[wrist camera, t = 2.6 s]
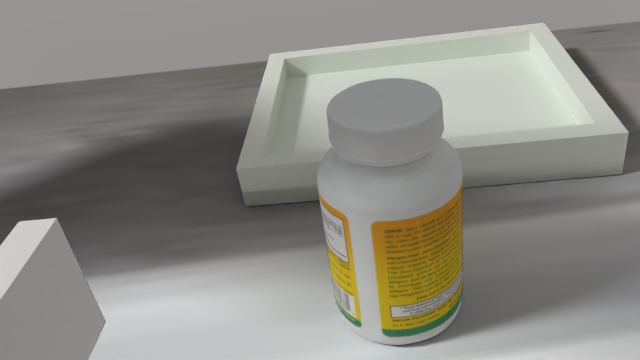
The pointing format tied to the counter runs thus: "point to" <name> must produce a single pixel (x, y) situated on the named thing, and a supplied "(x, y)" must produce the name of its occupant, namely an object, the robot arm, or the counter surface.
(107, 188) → the counter surface
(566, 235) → the counter surface
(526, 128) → the tray
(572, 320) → the counter surface
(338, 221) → the supplement bottle
